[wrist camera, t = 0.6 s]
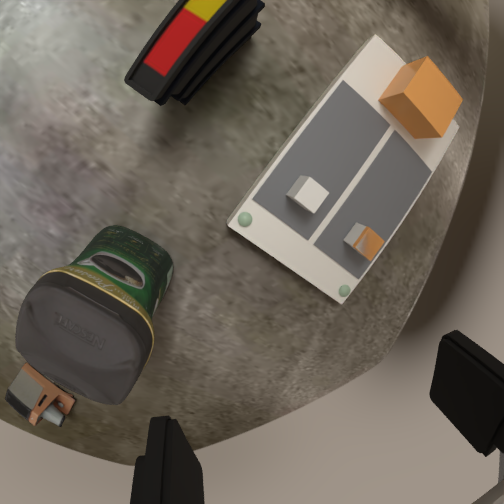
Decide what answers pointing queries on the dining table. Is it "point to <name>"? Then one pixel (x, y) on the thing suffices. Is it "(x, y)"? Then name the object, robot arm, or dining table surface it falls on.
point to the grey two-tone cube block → (364, 240)
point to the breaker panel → (341, 176)
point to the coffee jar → (96, 315)
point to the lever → (307, 193)
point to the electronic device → (38, 397)
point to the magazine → (192, 47)
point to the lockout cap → (421, 99)
